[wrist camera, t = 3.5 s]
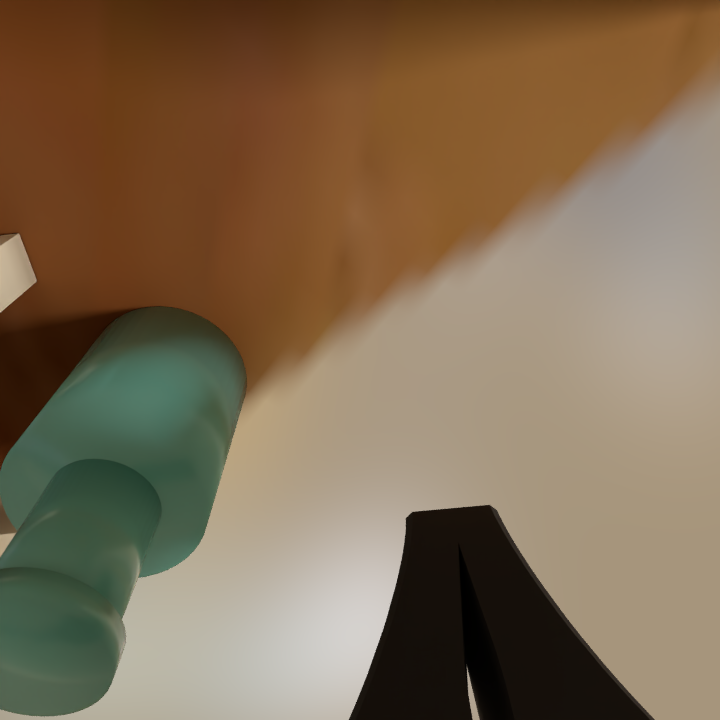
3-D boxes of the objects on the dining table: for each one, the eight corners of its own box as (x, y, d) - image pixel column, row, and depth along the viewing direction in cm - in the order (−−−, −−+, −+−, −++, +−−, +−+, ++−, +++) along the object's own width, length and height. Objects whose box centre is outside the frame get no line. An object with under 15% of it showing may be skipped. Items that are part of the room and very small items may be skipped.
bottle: (117, 446, 18) (-49, 751, 11) (70, 315, 17) (-170, 575, 9) (260, 432, 18) (188, 733, 11) (228, 297, 16) (116, 550, 9)
